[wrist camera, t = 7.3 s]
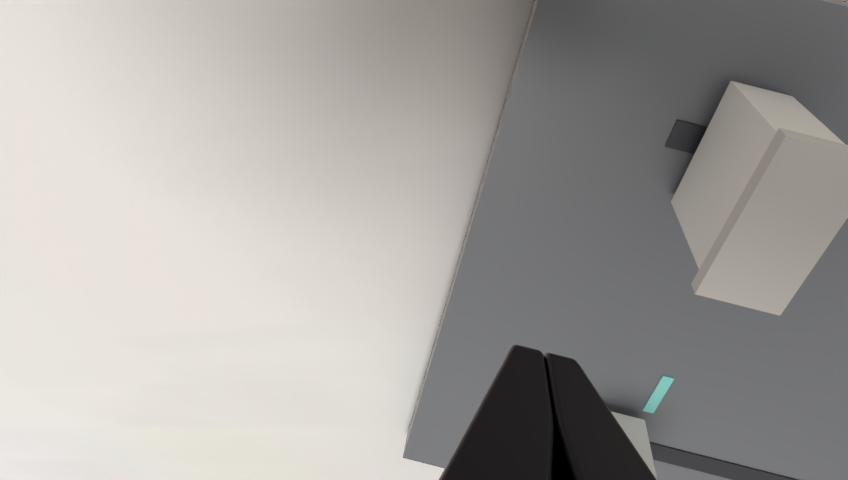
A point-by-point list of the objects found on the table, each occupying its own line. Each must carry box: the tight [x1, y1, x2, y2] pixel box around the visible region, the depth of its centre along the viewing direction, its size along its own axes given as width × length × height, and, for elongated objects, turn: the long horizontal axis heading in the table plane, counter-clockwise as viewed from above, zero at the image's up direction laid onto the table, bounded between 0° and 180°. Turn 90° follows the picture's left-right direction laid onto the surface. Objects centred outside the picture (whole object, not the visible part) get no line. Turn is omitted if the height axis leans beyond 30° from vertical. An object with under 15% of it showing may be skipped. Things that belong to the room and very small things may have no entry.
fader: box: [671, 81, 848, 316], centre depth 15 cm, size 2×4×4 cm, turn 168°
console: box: [403, 0, 848, 480], centre depth 20 cm, size 22×20×2 cm
